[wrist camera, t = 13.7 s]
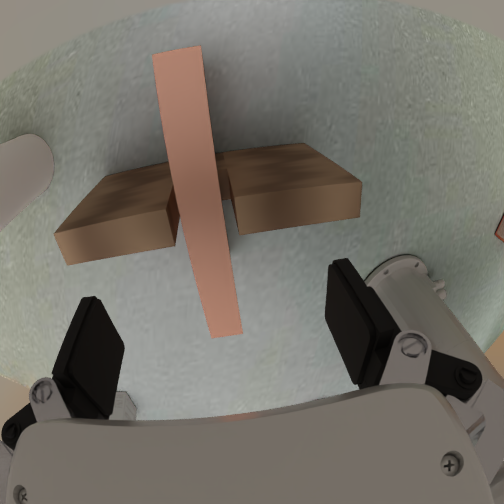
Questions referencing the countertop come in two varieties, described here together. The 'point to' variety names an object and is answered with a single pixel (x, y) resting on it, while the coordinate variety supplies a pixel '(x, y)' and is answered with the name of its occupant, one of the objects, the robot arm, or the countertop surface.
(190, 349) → the countertop surface
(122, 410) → the supplement box
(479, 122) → the countertop surface
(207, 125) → the terracotta slotted plate
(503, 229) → the cracker box
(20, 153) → the cylindrical container
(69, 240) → the walnut slotted plate
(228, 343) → the countertop surface
